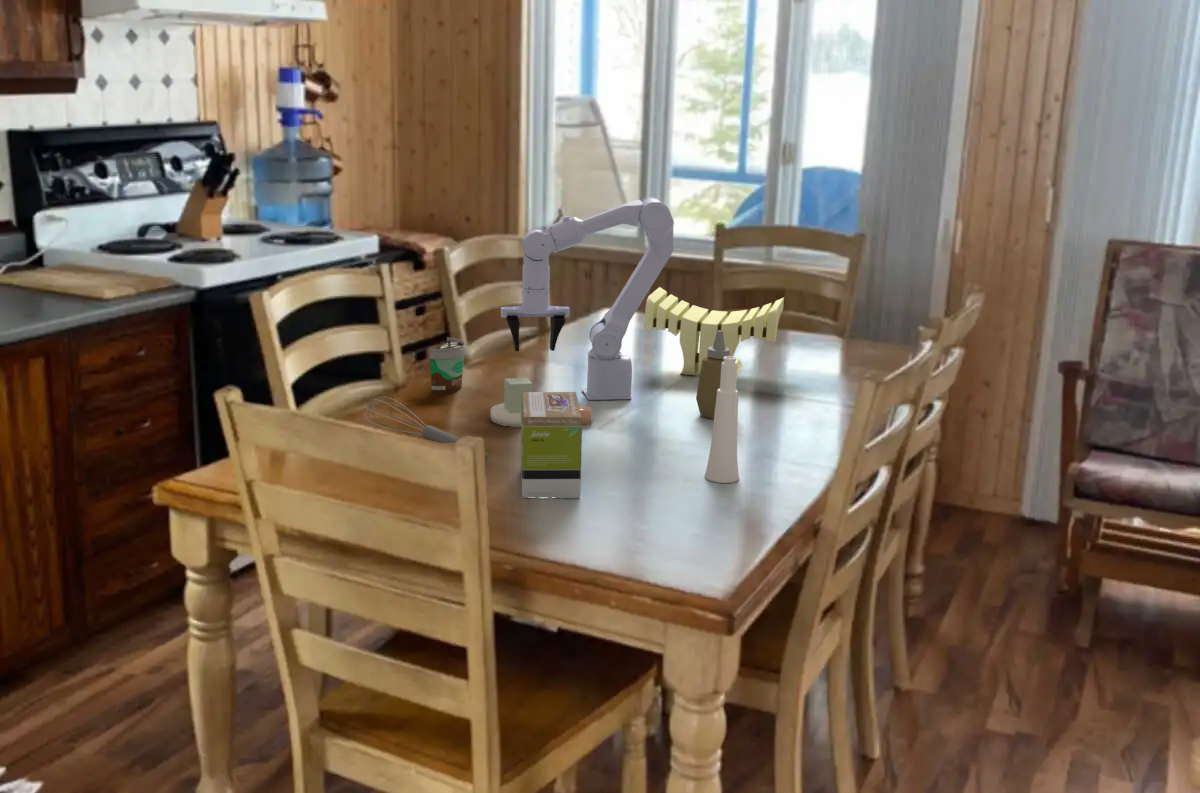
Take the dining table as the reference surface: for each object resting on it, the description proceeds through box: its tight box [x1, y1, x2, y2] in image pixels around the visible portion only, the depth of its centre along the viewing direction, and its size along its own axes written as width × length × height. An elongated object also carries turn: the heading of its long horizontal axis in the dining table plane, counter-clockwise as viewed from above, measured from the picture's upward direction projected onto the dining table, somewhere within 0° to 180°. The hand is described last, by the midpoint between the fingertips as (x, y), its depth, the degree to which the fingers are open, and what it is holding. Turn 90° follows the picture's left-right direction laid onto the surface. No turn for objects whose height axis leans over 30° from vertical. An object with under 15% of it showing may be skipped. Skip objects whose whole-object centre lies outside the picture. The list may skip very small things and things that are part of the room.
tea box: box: [520, 391, 583, 499], centre depth 206 cm, size 15×10×15 cm, turn 5°
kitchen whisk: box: [364, 396, 491, 463], centre depth 227 cm, size 6×34×6 cm, turn 50°
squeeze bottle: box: [695, 331, 730, 420], centre depth 249 cm, size 8×8×18 cm
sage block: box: [503, 377, 533, 413], centre depth 242 cm, size 4×4×6 cm
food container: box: [428, 336, 468, 394], centre depth 262 cm, size 12×6×10 cm, turn 168°
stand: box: [490, 402, 521, 428], centre depth 243 cm, size 11×11×2 cm
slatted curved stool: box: [643, 286, 785, 377], centre depth 284 cm, size 30×16×18 cm, turn 76°
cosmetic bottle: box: [704, 356, 740, 484], centre depth 211 cm, size 6×6×22 cm
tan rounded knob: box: [579, 404, 593, 427], centre depth 243 cm, size 5×5×3 cm
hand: (534, 349), depth 259 cm, fingers open, 7 cm apart
